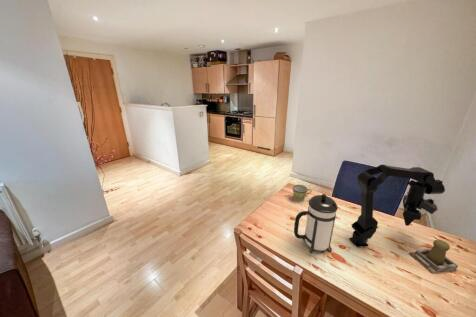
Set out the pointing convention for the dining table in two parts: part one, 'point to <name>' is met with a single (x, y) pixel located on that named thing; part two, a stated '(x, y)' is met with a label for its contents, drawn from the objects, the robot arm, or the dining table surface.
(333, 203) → the coffee press
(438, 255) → the olive tall rounded piece
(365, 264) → the dining table surface
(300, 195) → the ceramic cup
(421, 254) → the frame
